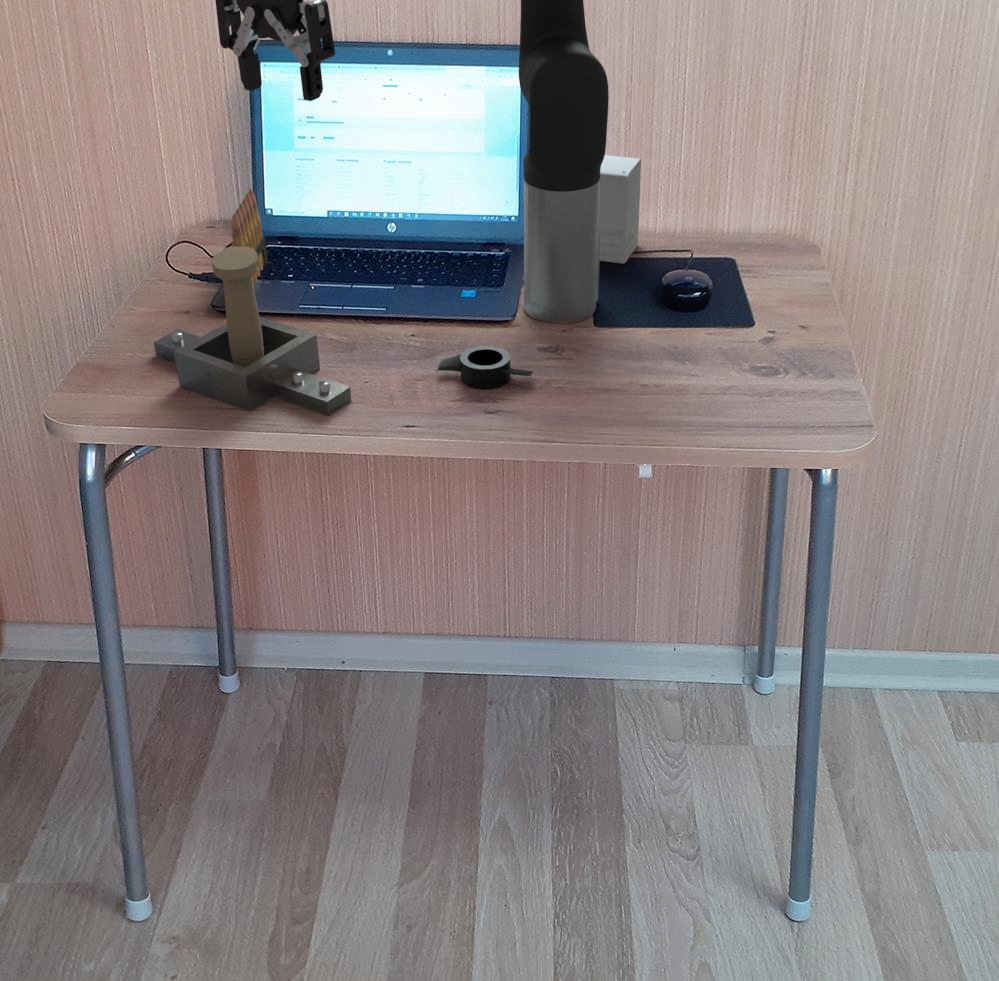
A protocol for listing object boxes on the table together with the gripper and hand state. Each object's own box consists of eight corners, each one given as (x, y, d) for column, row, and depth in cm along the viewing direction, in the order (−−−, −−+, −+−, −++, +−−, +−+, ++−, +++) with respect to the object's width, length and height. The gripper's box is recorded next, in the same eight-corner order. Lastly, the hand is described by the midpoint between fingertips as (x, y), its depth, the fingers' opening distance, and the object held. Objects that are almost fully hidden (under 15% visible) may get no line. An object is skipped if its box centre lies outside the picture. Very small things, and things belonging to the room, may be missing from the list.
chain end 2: (214, 398, 148) (209, 363, 146) (284, 357, 157) (280, 323, 154) (304, 431, 142) (300, 395, 139) (373, 386, 150) (370, 351, 148)
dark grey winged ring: (490, 406, 147) (490, 383, 145) (432, 376, 153) (431, 354, 151) (539, 383, 151) (539, 360, 149) (480, 354, 157) (480, 332, 156)
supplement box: (639, 245, 184) (643, 157, 177) (624, 265, 178) (628, 175, 171) (589, 238, 186) (591, 151, 179) (573, 258, 180) (574, 169, 173)
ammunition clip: (251, 304, 169) (239, 216, 162) (237, 304, 169) (225, 216, 162) (269, 270, 178) (258, 186, 171) (255, 270, 178) (245, 185, 171)
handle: (274, 363, 155) (260, 245, 147) (268, 390, 150) (253, 269, 142) (233, 365, 155) (217, 246, 147) (226, 391, 150) (208, 270, 141)
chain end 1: (131, 368, 155) (124, 334, 152) (203, 330, 163) (198, 297, 160) (214, 398, 148) (209, 363, 146) (284, 357, 157) (280, 323, 154)
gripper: (339, -65, 134) (354, 93, 143) (235, -75, 140) (256, 76, 149) (291, -51, 129) (310, 112, 138) (186, -62, 135) (211, 94, 144)
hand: (282, 93), depth 144 cm, fingers open, 8 cm apart
